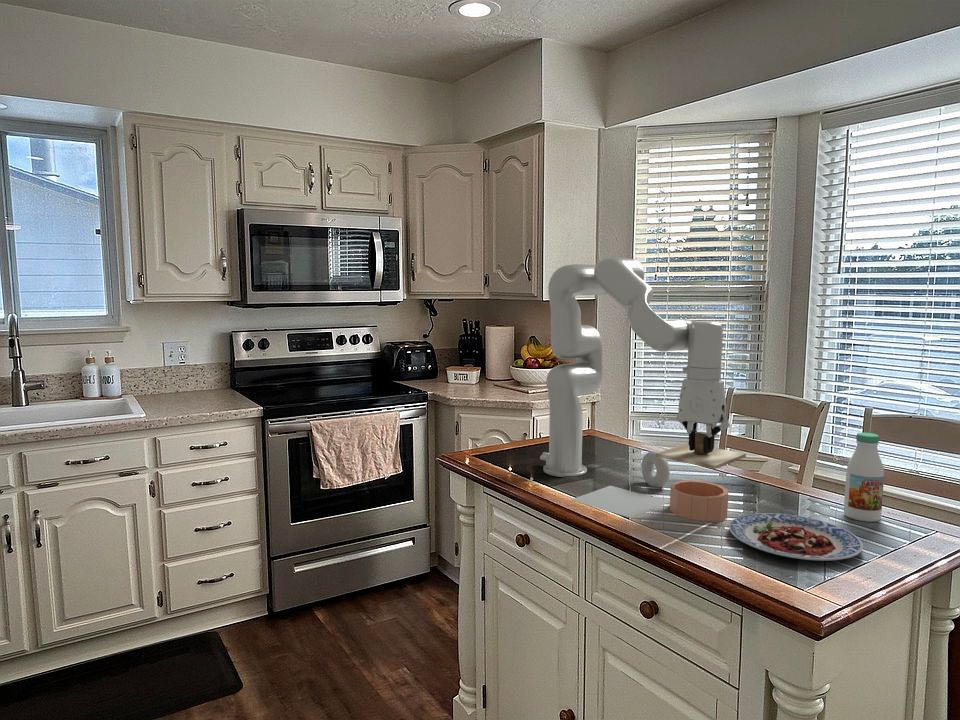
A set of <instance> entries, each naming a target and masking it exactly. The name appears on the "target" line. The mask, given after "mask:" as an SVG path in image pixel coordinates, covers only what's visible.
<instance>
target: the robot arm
mask: <svg viewBox="0 0 960 720" xmlns="http://www.w3.org/2000/svg"><path fill="white" fill-rule="evenodd" d="M644 279H645V270H644V268H643V266H642V264H641V262H639V261H638V260H637V259H634V258H630V257H606V258H604V259H602V260H600V261H599V262H598V263H597V264H583V263H582V264H581V263H580V264H579V263H578V264H577V263H575V264H574V263H572V264H568V265H563V266H560V267H558V268H557V269H556V270H555V271H554V272H553V273H552V275H551V276H550V279H549V282H548V287H547V288H548V290H547V292H548V299H549V305H550V336H551V337H550V338H551V339H550V342H551V343H550V345H551V351H552V354H553V355H554V356H555V358H558V359H561V360H570V359H576V362H573V363H571V362H570V363H563V364H562V363H561V364H558V365H556V366H554V367H552V368H551V369H550V370H549V371H548V373H547V376H546V379H545V381H546V388H547V394H548V401H549V403H548V404H549V407H548V408H549V415H548V417H549V429H548V430H549V431H548V433H549V434H548V435H549V436H548V437H549V438H548V452H546V451H543V452H542V453H541V455H540V456H539V460H541V461H544V462H545V465H543V472H544V473H545V474H547V475H548V476H554V477H559V478H561V477H562V478H566V477H577V476H582V475H584V474H586V473H587V472H588V468H587V466H585V465H583V464H582V463H583V459H582V458H583V423H584V422H583V420H584V418H583V408H582V405H581V402H580V400H579V398H578V397H579V396H586V395H590V394H594V393H595V392H597V391H598V390H600V388H601V386H602V383H603V373H604V371H603V370H604V369H603V368H604V367H603V366H604V365H603V363H604V362H603V361H604V360H603V359H604V358H603V356H604V355H603V341H602V340H603V339H602V336H601V334H600V332H599V331H598V329H597V328H595V327H594V326H592V325H588V324H582V310H581V307H580V304H579V302H578V300H577V299H576V296H601V295H609V296H610V297H611V298H612V299H613V300H614V301H615V302H616V303H617V304H618V305H620V307H621V308H623V310H625V311H626V316H627V317H626V318H627V320H628V321H627V322H628V323H629V326H630V328H631V330H632V331H633V333H634V334H636V335H637V337H638V338H639V339H640V340H641V341H643V343H645V344H646V346H648V347H650V348H651V349H653V350H655V351H657V352H661V353H662V352H663V353H664V352H673V351H686V350H687V365H686V367H685V366H684V367H683V368H682V373H683V374H686V378H683V379H682V384H681V388H680V393H679V400H678V413H677V414H676V417H675V420H676V421H677V422H679V423H680V424H681V425H682V426H683V427H684V428H685V430H686V433H687V434H688V443H689V446H690V447H689V450H691V451H693V450H694V445H695V432H698V425H699V424H701V425H702V424H703V425H705V427H706V429H705V430H706V431H705V432H707V435H706V437H704V453H706V454H707V453H710V452H712V451H713V449H714V448H715V437H716V436H717V434H719V433H720V432H721V431H723V430H725V429H728V428H730V423H729V420H728V418H727V399H726V390H725V383H724V381H723V380H722V356H723V334H724V333H723V332H724V331H723V329H724V328H723V325H722V324H721V323H720V322H718V321H709V320H708V321H707V320H706V321H703V320H701V321H697V320H694V319H693V320H692V319H688V318H687V319H685V318H681V319H680V318H679V319H676V318H675V319H663V318H662V317H660V316H659V315H658V314H657V313H656V312H655V311H654V310H653V309H652V308H651V307H650V306H649V304H650V303H651V301H652V299H653V297H654V291H653V288H652V287H651V286H650V284H648V283H647V282H646V281H645V280H644ZM718 423H720V424H719V425H717V424H718Z"/></svg>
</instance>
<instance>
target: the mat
mask: <svg viewBox="0 0 960 720" xmlns="http://www.w3.org/2000/svg"><path fill="white" fill-rule="evenodd" d="M571 501H573V502H575V503H580V504H582V505H586V506H590V507H593V508H597V509H599V510H602V511H605V512H609V513H612V514H616V515H620V516H622V517H626V518H630V519H633V518H636V517H638V516H640V515H644V514H646V513H647V512H650V511H652V510H655V509H656V508H657V509H658V508H659V507H662V506H664V505H666V504H668V503H669V504H670V500H664V499H661V498H658V497H654V496H650V495H647V494H643V493H640V492H636V491H632V490H628V489H624V488H621V487H617V486H613V485H607V486H604V487H603V488H599V489H597V490H594V491H591V492H589V493H585V494H583V495H580V496H576V497H574V498H572V499H571Z"/></svg>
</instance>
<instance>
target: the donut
mask: <svg viewBox="0 0 960 720" xmlns="http://www.w3.org/2000/svg"><path fill="white" fill-rule="evenodd" d="M658 452H659V451H658V450H657V451H656V450H650V451H648V452H646V453H645V454H644V455H643V458H642V461H641V464H640V471H641V474H642V478H643V479H644V481H645V483H646V484H647V485H648V486H650V487H653V488H657V489H659V488H663V487H664V486H666V485H667V483H668V482H669V478H670V465H669V462H668V459H665V458H660V457H656V453H658ZM654 467H655V468H654ZM655 469H656V472H655Z"/></svg>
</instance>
